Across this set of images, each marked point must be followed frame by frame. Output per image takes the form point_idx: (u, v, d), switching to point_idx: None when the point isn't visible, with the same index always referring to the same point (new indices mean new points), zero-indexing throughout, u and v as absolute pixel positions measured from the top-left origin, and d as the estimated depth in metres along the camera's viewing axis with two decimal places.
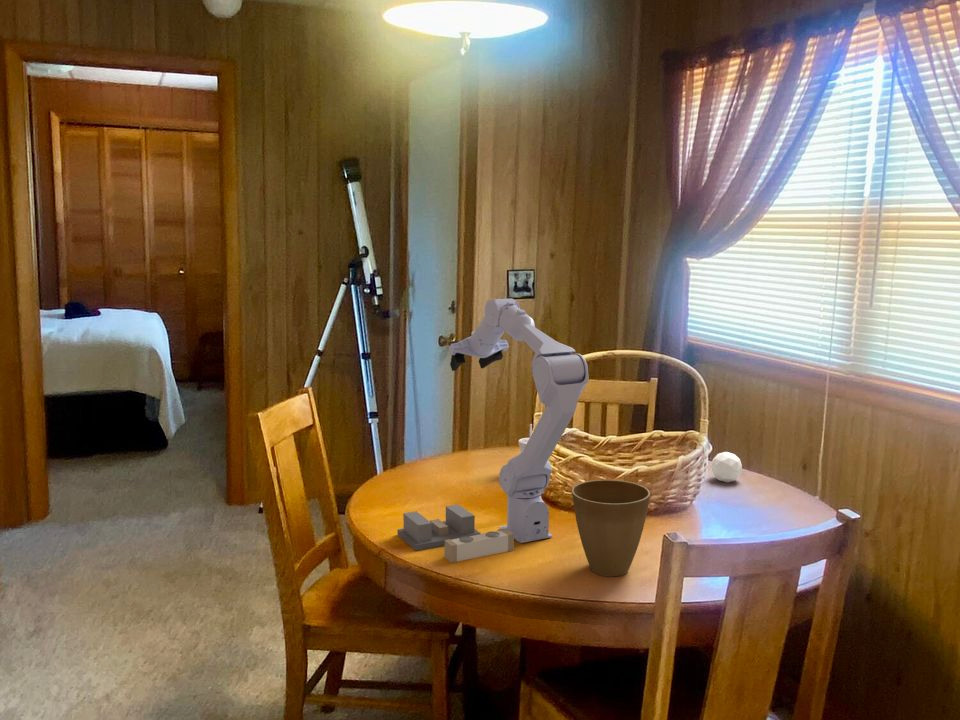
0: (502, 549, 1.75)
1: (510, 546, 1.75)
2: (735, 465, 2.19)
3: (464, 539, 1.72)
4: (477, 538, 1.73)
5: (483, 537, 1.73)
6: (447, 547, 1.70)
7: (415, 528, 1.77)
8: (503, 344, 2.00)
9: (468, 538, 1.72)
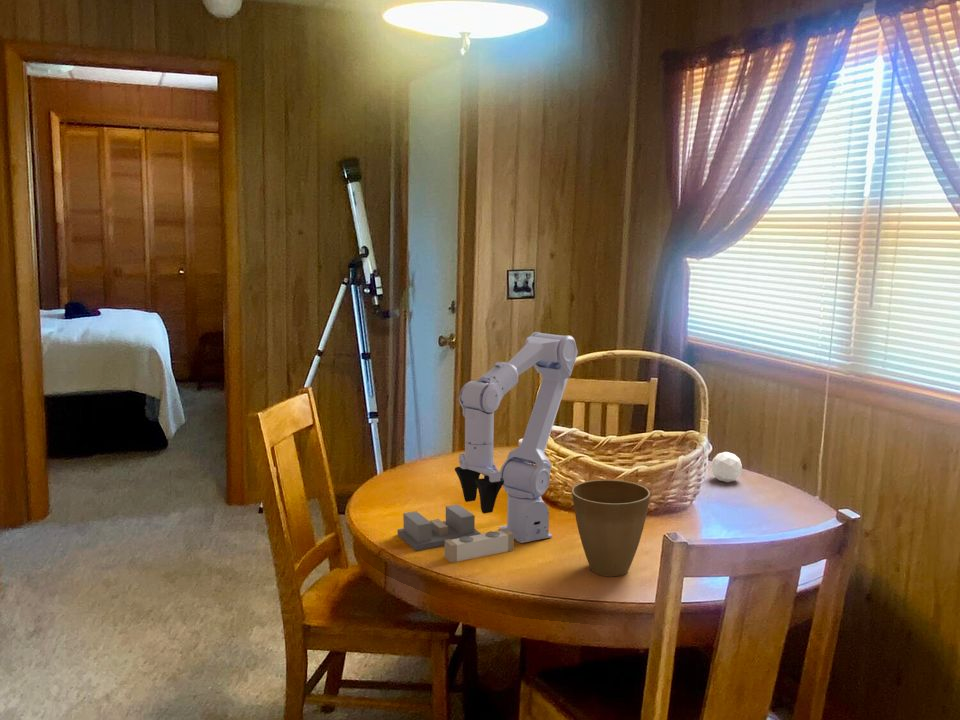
0: (502, 549, 1.75)
1: (510, 546, 1.75)
2: (735, 465, 2.19)
3: (464, 539, 1.72)
4: (477, 538, 1.73)
5: (483, 537, 1.73)
6: (447, 547, 1.70)
7: (415, 528, 1.77)
8: None
9: (468, 538, 1.72)
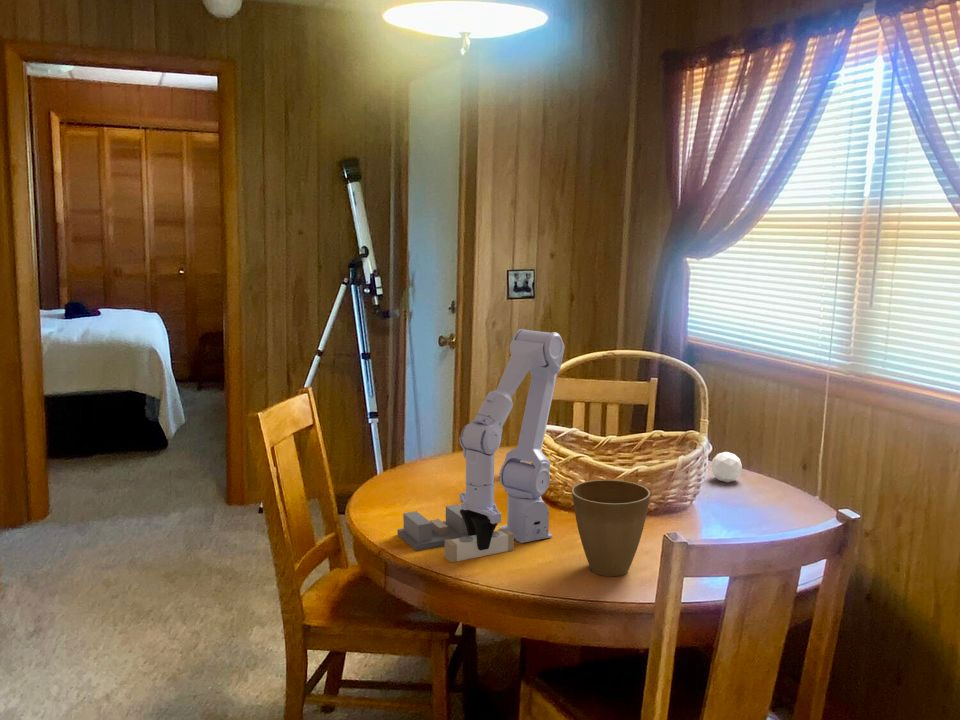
0: (502, 549, 1.75)
1: (510, 546, 1.75)
2: (735, 465, 2.19)
3: (464, 539, 1.72)
4: None
5: None
6: (447, 547, 1.70)
7: (415, 528, 1.77)
8: None
9: (468, 538, 1.72)
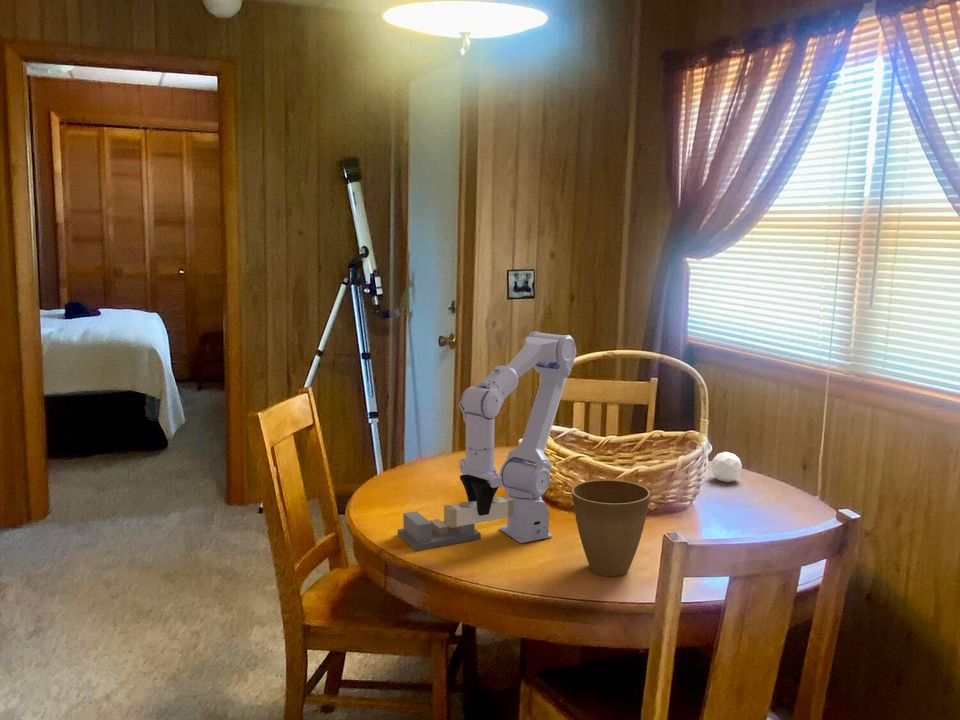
0: (502, 515, 1.73)
1: (510, 512, 1.74)
2: (735, 465, 2.19)
3: (463, 505, 1.70)
4: None
5: None
6: (447, 512, 1.69)
7: (415, 528, 1.77)
8: None
9: (468, 504, 1.71)
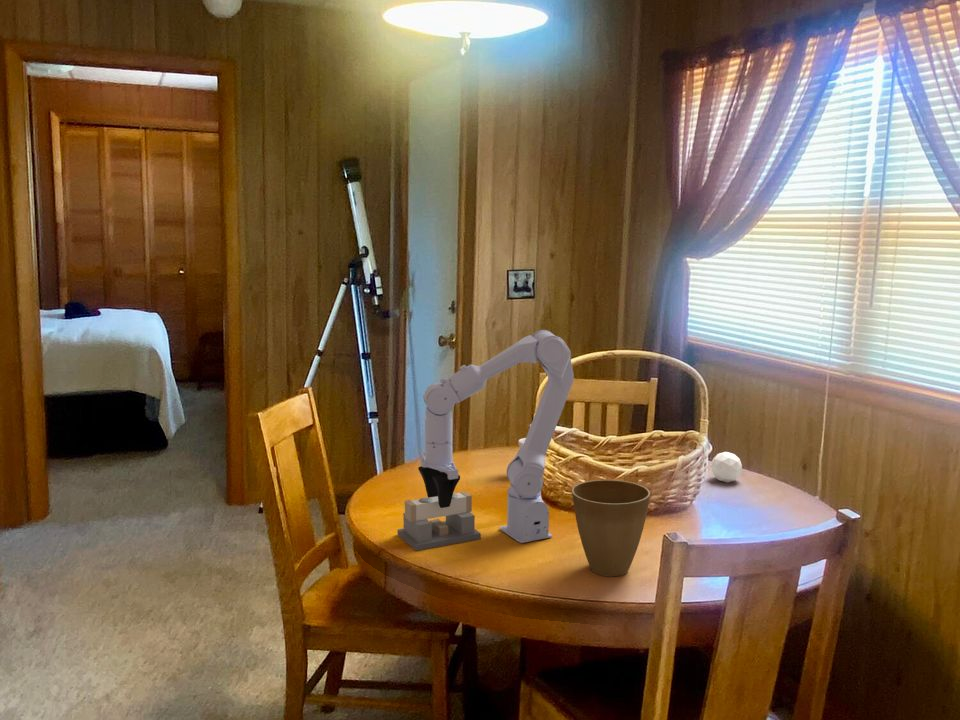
0: (460, 510, 1.83)
1: (468, 507, 1.83)
2: (735, 465, 2.19)
3: (423, 500, 1.80)
4: (436, 499, 1.81)
5: None
6: (407, 507, 1.78)
7: (415, 528, 1.77)
8: None
9: (427, 499, 1.80)
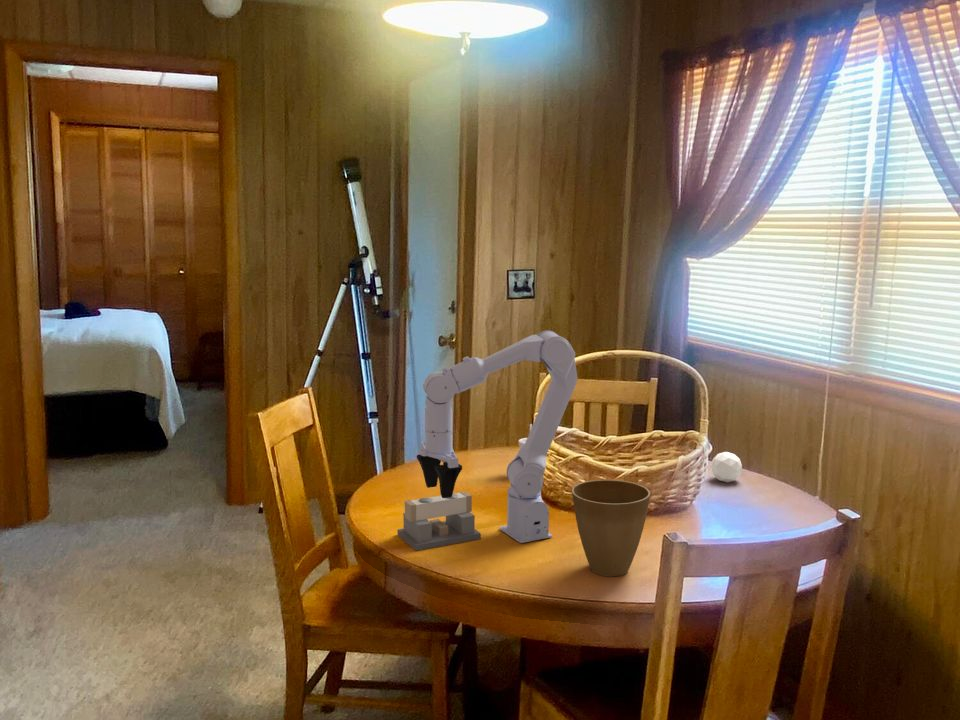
0: (460, 510, 1.83)
1: (468, 507, 1.83)
2: (735, 465, 2.19)
3: (423, 500, 1.80)
4: (436, 499, 1.81)
5: (442, 498, 1.81)
6: (407, 507, 1.78)
7: (415, 528, 1.77)
8: None
9: (427, 499, 1.80)
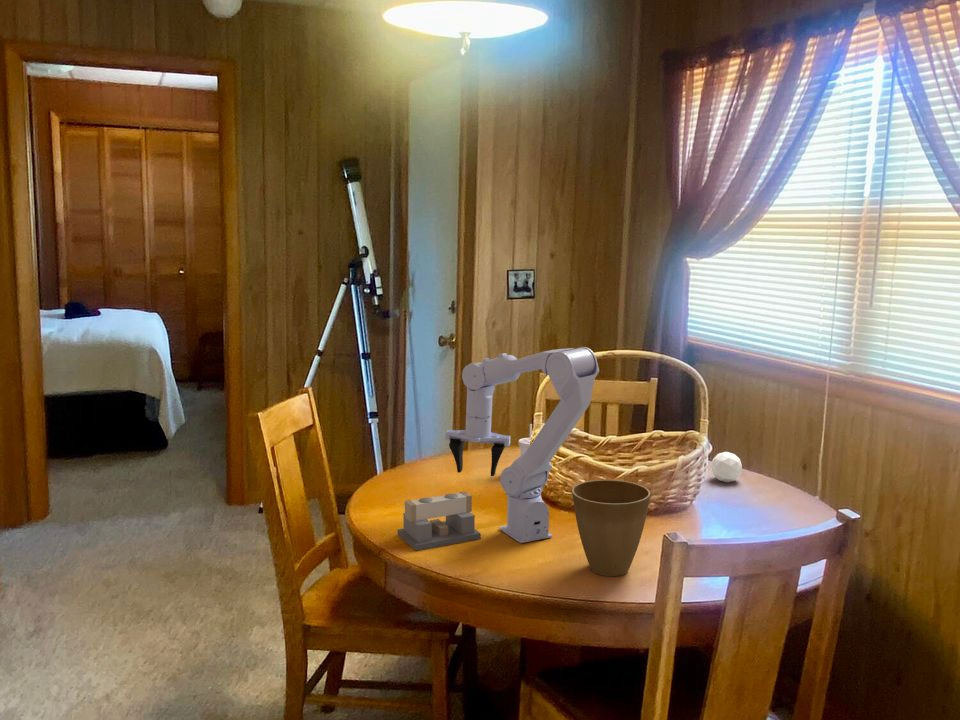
0: (460, 510, 1.83)
1: (468, 507, 1.83)
2: (735, 465, 2.19)
3: (423, 500, 1.80)
4: (436, 499, 1.81)
5: (442, 498, 1.81)
6: (407, 507, 1.78)
7: (415, 528, 1.77)
8: None
9: (427, 499, 1.80)
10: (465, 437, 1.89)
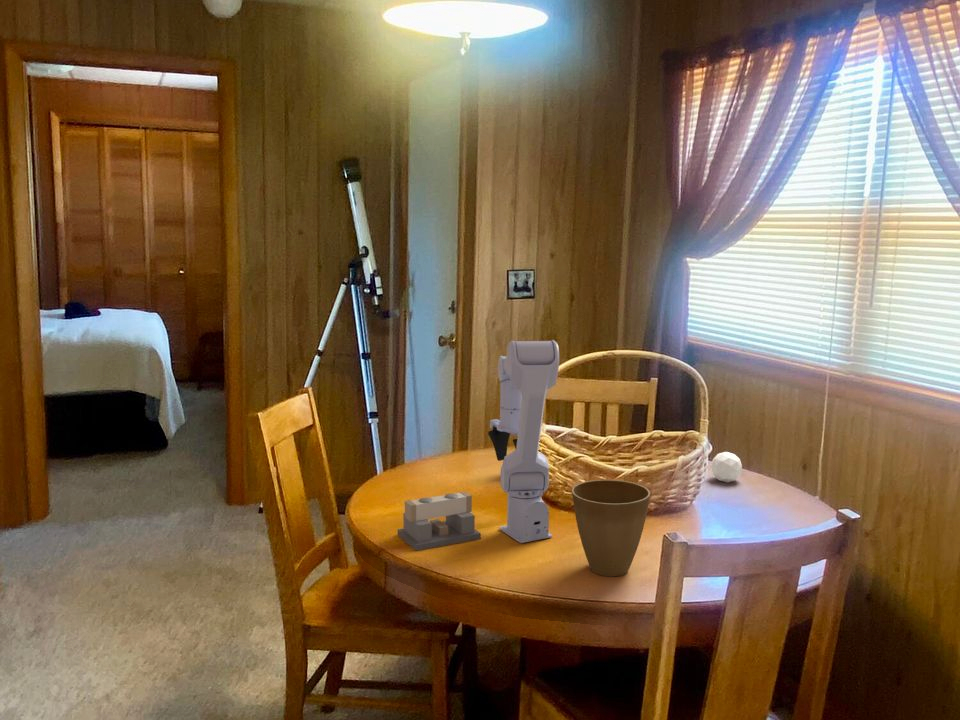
0: (460, 510, 1.83)
1: (468, 507, 1.83)
2: (735, 465, 2.19)
3: (423, 500, 1.80)
4: (436, 499, 1.81)
5: (442, 498, 1.81)
6: (407, 507, 1.78)
7: (415, 528, 1.77)
8: None
9: (427, 499, 1.80)
10: (497, 426, 1.99)
